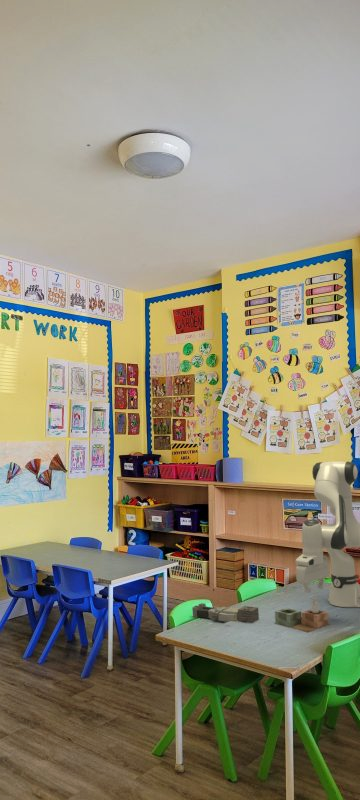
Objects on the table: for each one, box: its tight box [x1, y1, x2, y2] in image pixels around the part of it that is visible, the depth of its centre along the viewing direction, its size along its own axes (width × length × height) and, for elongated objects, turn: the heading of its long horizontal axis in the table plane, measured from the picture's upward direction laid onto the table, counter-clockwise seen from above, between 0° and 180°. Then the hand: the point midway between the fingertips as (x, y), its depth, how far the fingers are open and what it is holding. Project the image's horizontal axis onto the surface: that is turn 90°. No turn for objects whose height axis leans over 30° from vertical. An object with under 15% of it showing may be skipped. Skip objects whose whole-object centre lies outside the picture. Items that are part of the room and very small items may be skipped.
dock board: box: [274, 607, 331, 633], centre depth 248 cm, size 16×18×6 cm
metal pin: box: [310, 599, 319, 614], centre depth 247 cm, size 3×3×10 cm
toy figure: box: [191, 602, 260, 624], centre depth 260 cm, size 11×7×30 cm
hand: (314, 590), depth 248 cm, fingers open, 8 cm apart
